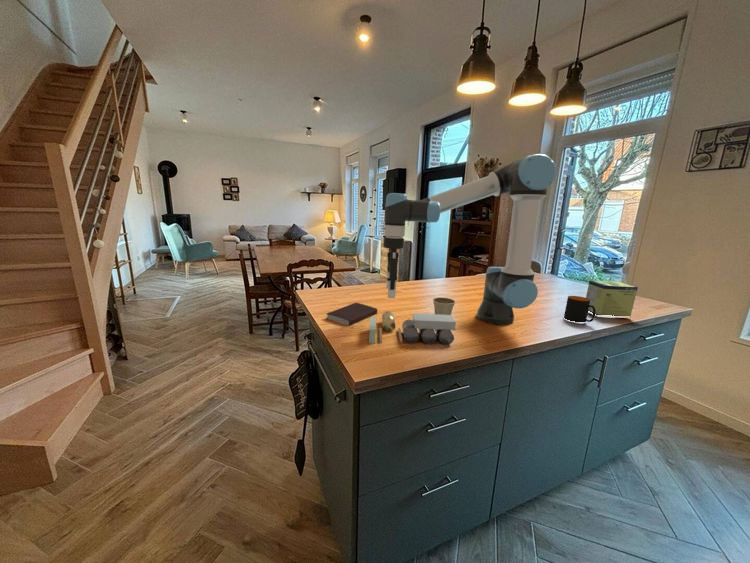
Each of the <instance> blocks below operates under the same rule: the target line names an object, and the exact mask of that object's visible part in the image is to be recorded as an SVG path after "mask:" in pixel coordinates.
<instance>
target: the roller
mask: <svg viewBox="0 0 750 563" xmlns="http://www.w3.org/2000/svg"><path fill="white" fill-rule="evenodd" d="M381 318H382V319H381V321H382V322H381V323H382V330H383V331H385V332H389V333H390V332H393V331H394V330H395V329H396V321H395V314H394V313H393V312H392V311H389V310H386V311H384V312H383V313H382V315H381Z"/></svg>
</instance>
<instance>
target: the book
mask: <svg viewBox="0 0 750 563" xmlns="http://www.w3.org/2000/svg"><path fill="white" fill-rule="evenodd" d="M375 314H376V315H377V314H378V308H376V307H373V306H370V305H366V304H363V303H361V302H353V303H350V304H348V305H346V306H343V307H340V308H339V309H338V308H337V309H335V310H332V311H329V312H328V313H326V315H327V316H326V317H327V318H326V320H329V321H332V322H336V323H339V324H341V325H344V326H349V327H350V326H352V325H354V324H356V323H359V322H361V321H364V320H366V319H368V318H370V317H374V316H375Z"/></svg>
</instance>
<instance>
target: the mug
mask: <svg viewBox="0 0 750 563" xmlns="http://www.w3.org/2000/svg"><path fill="white" fill-rule="evenodd" d="M566 300H567V301H566V304H565V311H564V313H563V314H564V316H563V319H564V318H565V319H567V320H570V321H575V322H586V323H587V322H588V323H590V322H591V323H592V322H593V321H594V320H595V318H596V317H595V312H596V310H595V308H594V306H592V305H589V304H590V299H588V298H586V297H585V296H584V297H583V296H579V295H568V296H567V298H566ZM589 307H592V308H593V315H591V318H590V319H588V318H587V317H588V314H589V313H588V309H589Z"/></svg>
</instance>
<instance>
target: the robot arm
mask: <svg viewBox="0 0 750 563" xmlns="http://www.w3.org/2000/svg"><path fill="white" fill-rule="evenodd" d="M556 176H557V167H556V164H555V162H554V160H553V159H552V158H551V157H549V156H548V155H546V154H544V153H542V154H541V153H536V154H529V155H527V156H525V157H522V158H519V159H516V160H513V161H512V162H509V163H507V164H506V165H504V166H502V167H500V168H498V169H496V170H492V171H491V172H489V173H488V175H487V176H484V177H482V178H478V179H475V180H473V181H471V182H467V183H464V184H462V185H459V186H456V187H453V188H451V189H448V190H445V191H443V192H440V193H437V194H434V195H431V196H428V197H426V198H423V199H419V200H417V199H416V200H415V199H413V200H411V199H408V194H406V193H400V192H399V193H398V192H391V193H389V192H388V193H387V195H386V197H385V198H386V199H385V207H384V208H385V209H384V226H383V227H382V230H383V231H384V232H383V236H385V237H384V238H383V242H382V243H383V244H382V246H383V248H385V249H388V252H387V254H386V255H387V268H386V269H387V270H386V272H387V273H386V289H387V299H396V291H397V290H396V289H397V280H398V262H399V256H400V255H399V252H398V249H399V250H402V249H404V246H405V238H404V237H405V235H406V222H415V223H416V222H418V223H438V222H439V220H440V216H441V214H442V213H445V212H448V211H450V210H453V209H456V208H460V207H463V206H466V205H468V204H471V203H475V202H476V201H479V200H483V199H485V198H489V197H491V196H494V197H499V196H502V195H506V194H509V198H511V200H512V201H513V203H512V210H511V211H512V212H511V219H510V221H511V222H510V229H509V236H508V245H507V250H506V251H507V252H506V259H505V260H506V261H505V266H489V267H487V269H486V272H485V280H484V288H483V297H482V301H481V303H480V305H479V306H478V309H477V311H476V317H477V319H479V320H480V321H482V322H484V323H485V322H486V323H487V324H488V323H489V324H493V325H501V326H502V325H503V326H504V325H505V326H506V325H511V324H513V323H514V321H515V313H514V310H513V309H520V310H521V309H525V308H528V307H529V306H530V305H532V304H533V303H534V302H535V301H536V299H537V297H538V294H539V290H538V286H537V285H536V283H535V282H534V279H535V271H534V270H533V269H532V268H531V267H532V262H533V261H532V260H533V256H534V255H533V254H534V248H535V241H536V240H535V239H536V234H537V225H538V219H539V212H540V205H541V202H542V200H543V199H545V198H546V197H547V193H548V187H549V186H551V185H552V184H553V182H554V181H555V179H556Z"/></svg>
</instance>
